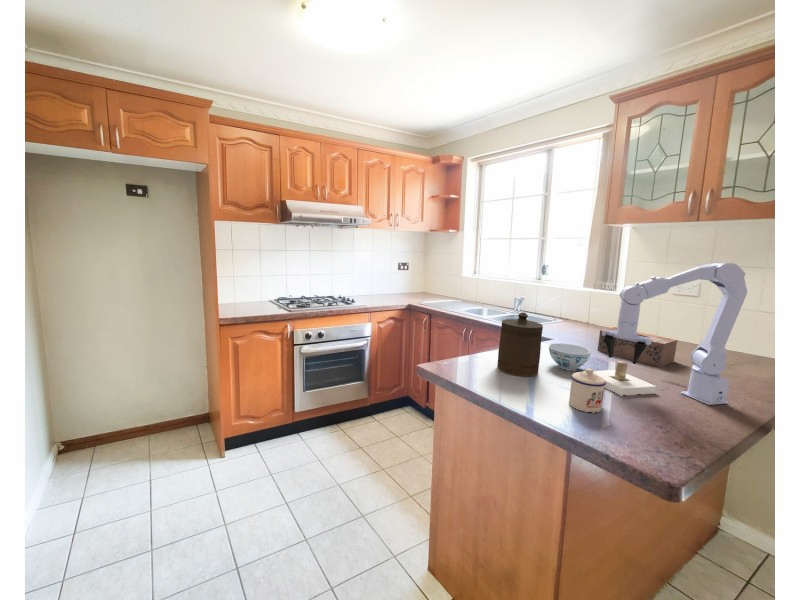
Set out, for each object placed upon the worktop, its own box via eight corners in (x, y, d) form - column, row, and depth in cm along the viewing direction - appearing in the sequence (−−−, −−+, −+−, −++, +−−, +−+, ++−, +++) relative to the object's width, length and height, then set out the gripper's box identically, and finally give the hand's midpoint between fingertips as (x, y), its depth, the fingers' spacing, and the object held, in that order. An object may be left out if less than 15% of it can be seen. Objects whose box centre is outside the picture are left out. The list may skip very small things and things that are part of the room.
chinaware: (597, 372, 142) (600, 353, 141) (567, 376, 137) (569, 355, 135) (566, 360, 156) (569, 342, 155) (538, 363, 150) (540, 344, 149)
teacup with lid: (589, 416, 104) (595, 376, 103) (561, 403, 112) (565, 366, 110) (614, 408, 110) (619, 370, 109) (585, 396, 118) (590, 361, 116)
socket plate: (655, 393, 124) (656, 386, 123) (620, 395, 120) (621, 388, 120) (616, 376, 139) (617, 369, 139) (585, 377, 136) (585, 371, 135)
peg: (625, 385, 130) (629, 363, 128) (622, 387, 127) (625, 364, 126) (615, 382, 132) (618, 360, 131) (612, 384, 130) (615, 362, 129)
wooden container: (529, 364, 148) (535, 309, 145) (544, 377, 134) (551, 317, 130) (492, 362, 148) (497, 308, 144) (503, 376, 133) (509, 316, 130)
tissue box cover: (597, 351, 174) (600, 330, 172) (612, 347, 182) (614, 327, 181) (660, 367, 153) (664, 344, 152) (673, 362, 162) (677, 339, 160)
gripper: (656, 324, 123) (650, 363, 125) (609, 316, 134) (604, 352, 136) (649, 326, 119) (643, 367, 121) (601, 318, 129) (596, 356, 132)
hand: (622, 360), depth 128 cm, fingers open, 7 cm apart
